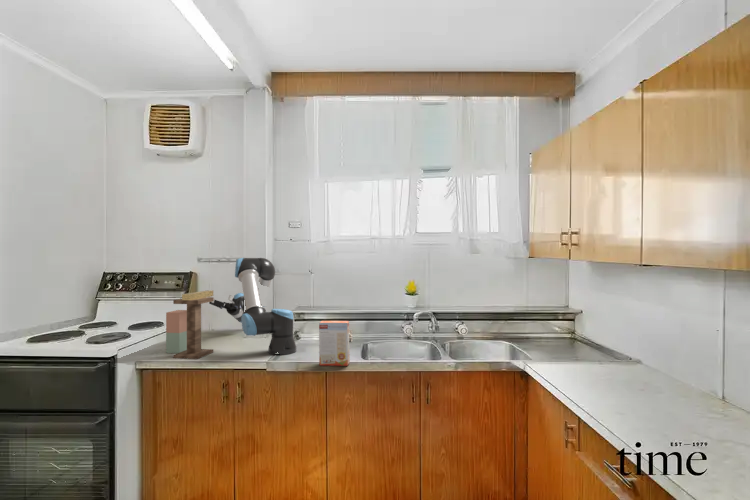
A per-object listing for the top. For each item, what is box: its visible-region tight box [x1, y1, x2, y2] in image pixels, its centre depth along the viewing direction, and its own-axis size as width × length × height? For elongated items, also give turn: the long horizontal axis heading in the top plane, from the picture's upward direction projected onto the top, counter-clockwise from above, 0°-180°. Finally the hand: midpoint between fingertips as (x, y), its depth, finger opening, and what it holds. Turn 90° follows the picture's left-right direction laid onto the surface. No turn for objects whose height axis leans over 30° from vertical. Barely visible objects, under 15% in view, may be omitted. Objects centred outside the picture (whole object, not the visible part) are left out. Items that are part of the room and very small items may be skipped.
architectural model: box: [349, 329, 353, 343], centre depth 240 cm, size 3×7×7 cm, turn 69°
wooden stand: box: [172, 296, 215, 360], centre depth 209 cm, size 14×14×30 cm
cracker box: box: [318, 320, 351, 367], centre depth 191 cm, size 14×6×21 cm, turn 84°
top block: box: [165, 309, 187, 334], centre depth 219 cm, size 8×10×11 cm
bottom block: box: [165, 331, 187, 354], centre depth 218 cm, size 8×10×11 cm
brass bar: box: [181, 289, 214, 300], centre depth 213 cm, size 4×22×3 cm, turn 171°
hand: (218, 296), depth 233 cm, fingers open, 13 cm apart
